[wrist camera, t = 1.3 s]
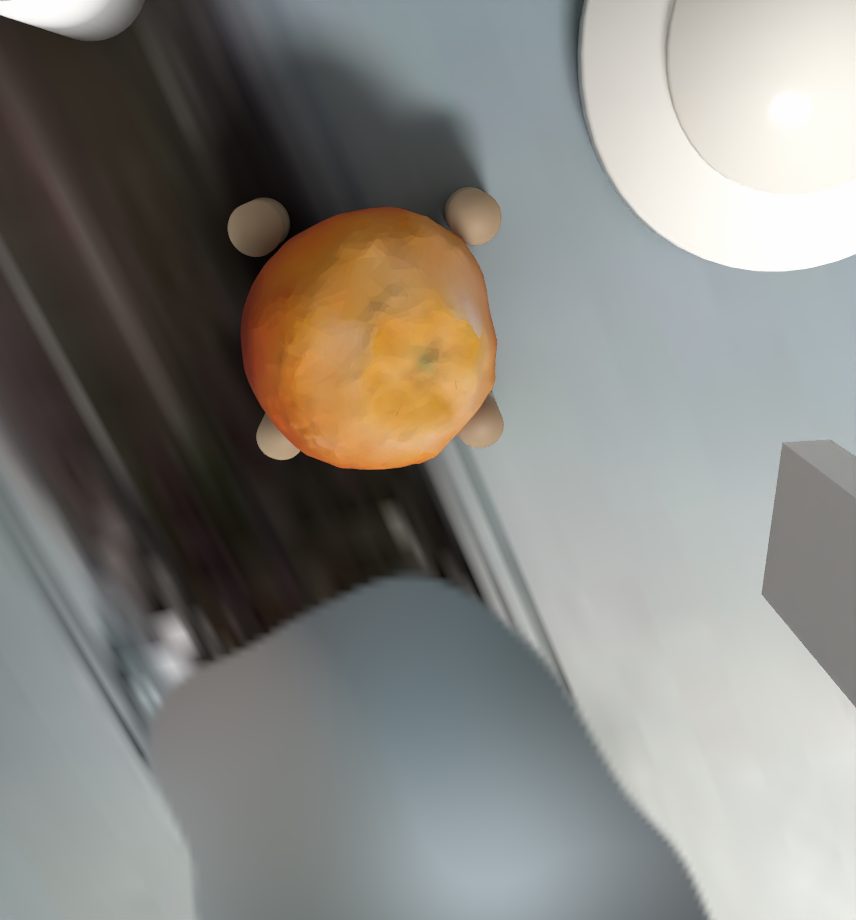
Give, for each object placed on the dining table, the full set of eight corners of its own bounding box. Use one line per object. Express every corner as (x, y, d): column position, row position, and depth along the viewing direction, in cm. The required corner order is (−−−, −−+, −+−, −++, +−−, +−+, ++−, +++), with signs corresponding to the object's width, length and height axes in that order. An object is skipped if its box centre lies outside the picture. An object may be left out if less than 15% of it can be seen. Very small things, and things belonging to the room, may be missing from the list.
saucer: (572, 277, 27) (581, 284, 26) (583, -224, 22) (595, -246, 21) (964, 256, 28) (992, 261, 26) (1067, -243, 23) (1108, -267, 21)
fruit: (189, 190, 24) (298, 217, 18) (403, 195, 29) (550, 218, 23) (201, 432, 28) (298, 524, 21) (393, 404, 32) (520, 475, 26)
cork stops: (270, 435, 29) (259, 461, 27) (238, 198, 26) (224, 204, 24) (494, 422, 29) (503, 446, 27) (491, 185, 26) (501, 189, 24)
